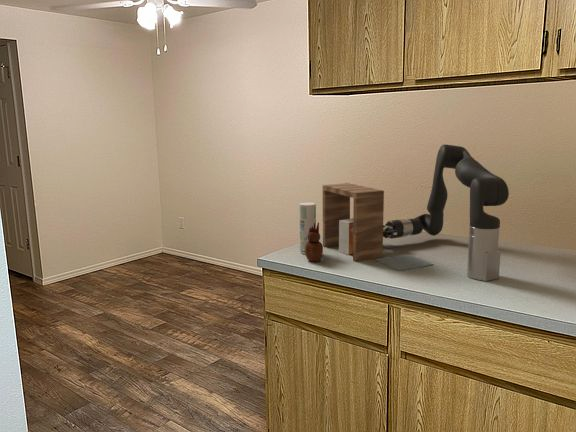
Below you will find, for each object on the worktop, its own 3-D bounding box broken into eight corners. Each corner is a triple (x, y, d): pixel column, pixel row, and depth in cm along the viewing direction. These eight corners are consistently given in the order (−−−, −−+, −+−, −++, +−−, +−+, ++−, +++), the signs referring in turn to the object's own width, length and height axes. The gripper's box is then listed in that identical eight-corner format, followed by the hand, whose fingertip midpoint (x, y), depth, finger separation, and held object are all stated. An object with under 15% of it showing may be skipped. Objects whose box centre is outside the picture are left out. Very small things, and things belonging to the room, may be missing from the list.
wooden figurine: (325, 260, 187) (325, 221, 184) (316, 263, 183) (315, 224, 180) (312, 257, 191) (311, 219, 188) (302, 260, 187) (301, 222, 184)
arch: (382, 257, 189) (383, 190, 184) (355, 261, 184) (356, 193, 179) (347, 242, 212) (347, 183, 207) (322, 246, 207) (322, 185, 202)
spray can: (318, 253, 196) (318, 204, 192) (303, 255, 194) (302, 205, 190) (312, 249, 202) (312, 201, 198) (297, 251, 200) (297, 203, 196)
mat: (433, 265, 179) (433, 264, 178) (399, 270, 172) (399, 269, 172) (407, 255, 192) (407, 254, 192) (375, 260, 186) (375, 259, 186)
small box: (348, 255, 194) (348, 222, 191) (338, 251, 199) (338, 220, 196) (364, 251, 198) (364, 220, 195) (353, 248, 203) (354, 217, 201)
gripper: (389, 216, 212) (357, 220, 205) (410, 222, 199) (376, 227, 193) (388, 233, 213) (356, 238, 207) (409, 240, 201) (376, 245, 194)
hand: (366, 232), depth 200 cm, fingers open, 8 cm apart
